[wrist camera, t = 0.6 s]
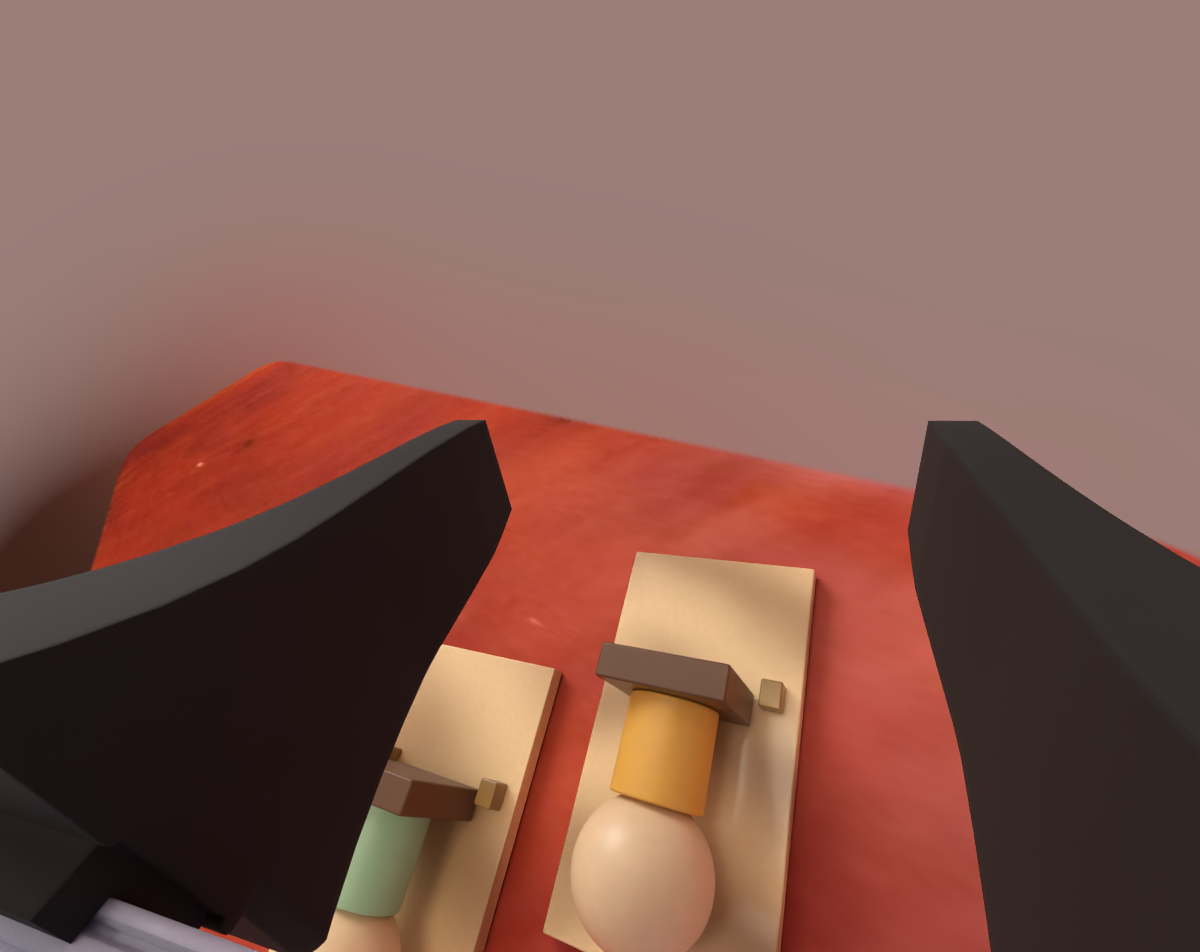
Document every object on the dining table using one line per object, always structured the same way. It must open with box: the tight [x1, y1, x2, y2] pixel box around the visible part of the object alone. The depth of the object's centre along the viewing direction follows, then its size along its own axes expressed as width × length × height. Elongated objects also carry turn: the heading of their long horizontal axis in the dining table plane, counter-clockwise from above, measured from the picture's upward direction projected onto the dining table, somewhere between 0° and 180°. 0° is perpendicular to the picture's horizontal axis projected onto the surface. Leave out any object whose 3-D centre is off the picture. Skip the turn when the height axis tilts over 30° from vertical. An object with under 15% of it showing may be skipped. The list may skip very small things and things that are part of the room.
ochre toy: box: [571, 642, 754, 952], centre depth 19 cm, size 9×5×5 cm, turn 164°
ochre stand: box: [543, 552, 816, 952], centre depth 22 cm, size 15×8×2 cm, turn 164°
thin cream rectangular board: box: [389, 644, 562, 952], centre depth 24 cm, size 15×8×2 cm, turn 164°
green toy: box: [268, 760, 478, 952], centre depth 21 cm, size 9×5×5 cm, turn 164°
